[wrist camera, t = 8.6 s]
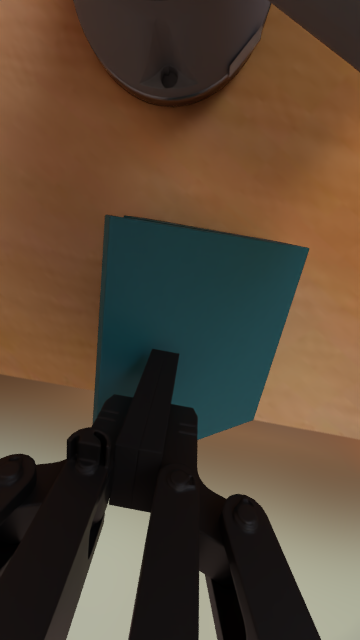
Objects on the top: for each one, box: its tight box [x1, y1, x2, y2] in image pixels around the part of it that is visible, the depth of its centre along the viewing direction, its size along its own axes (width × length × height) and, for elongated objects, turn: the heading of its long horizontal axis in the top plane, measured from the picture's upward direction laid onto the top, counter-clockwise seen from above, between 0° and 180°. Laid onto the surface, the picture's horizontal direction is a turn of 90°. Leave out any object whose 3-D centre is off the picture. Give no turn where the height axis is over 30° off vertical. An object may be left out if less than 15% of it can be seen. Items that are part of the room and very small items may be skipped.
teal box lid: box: [93, 215, 309, 440], centre depth 18 cm, size 14×16×1 cm
